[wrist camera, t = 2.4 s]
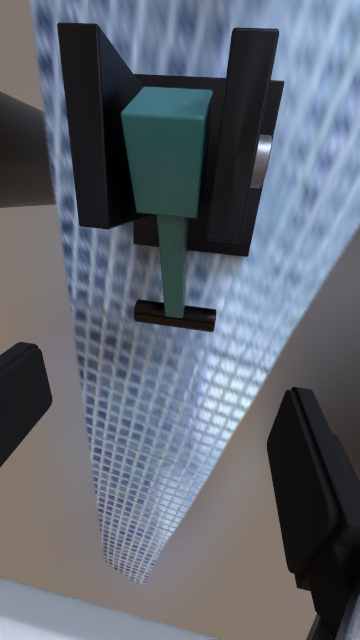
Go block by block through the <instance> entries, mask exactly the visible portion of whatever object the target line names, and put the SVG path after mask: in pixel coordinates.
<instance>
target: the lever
mask: <svg viewBox="0 0 360 640" xmlns="http://www.w3.org/2000/svg"><path fill="white" fill-rule="evenodd" d="M212 98H213V92H212V91H211V90H202V89H182V88H162V87H143V88H142V89H141V90H140V91H139V92H138V93H137V95H136V96H135V97H134V98H133V99H132V100H131V101H130V103H129V104H128V105H127V106H126V107H125V108H124V109H123V111H122V112H121V120H122V127H123V133H124V139H125V145H126V152H127V158H128V164H129V171H130V177H131V183H132V189H133V196H134V202H135V208H136V212H137V213H145V214H155V215H157V223H158V235H159V247H160V259H161V271H162V283H163V295H164V302H156V301H148V300H141V299H139V300H137V302H136V304H135V309H134V319H135V321H136V322H143V323H150V324H157V325H165V326H172V327H179V328H186V329H193V330H200V331H207V332H213V331H214V327H215V320H216V309H209V308H201V307H194V306H186V305H185V294H186V262H187V231H188V218H195V219H196V218H198V215H199V211H200V206H201V201H202V196H203V191H204V187H205V180H206V168H207V157H208V145H209V133H210V121H211V110H212Z"/></svg>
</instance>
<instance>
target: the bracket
mask: <svg viewBox="0 0 360 640" xmlns="http://www.w3.org/2000/svg"><path fill="white" fill-rule="evenodd" d="M57 27H58V36H59V45H60V55H61V64H62V73H63V82H64V91H65V100H66V109H67V118H68V127H69V136H70V145H71V154H72V164H73V173H74V182H75V191H76V200H77V209H78V218H79V225H80V226H83V227H92V228H101V229H110V228H114V227H117V226H120V225H123V224H126V223H129V222H133V227H134V244H138V245H147V246H156V247H159V235H158V223H157V215H155V214H145V213H137V212H136V208H135V202H134V196H133V189H132V183H131V177H130V171H129V164H128V158H127V152H126V145H125V139H124V133H123V127H122V120H121V112H122V111H123V109H124V108H125V107H126V106H127V105H128V104H129V103H130V101H131V100H132V99H133V98H134V97H135V96H136V95H137V93H138V92H139V91H140V90H141V89H142V88H143V87H162V88H182V89H202V90H211V91H212V92H213V98H212V110H211V121H210V133H209V145H208V157H207V168H206V180H205V187H204V191H203V196H202V201H201V206H200V211H199V215H198V218H196V219H195V218H188V231H187V250H192V251H201V252H210V253H219V254H228V255H237V256H246V257H247V256H248V254H249V249H250V244H251V239H252V235H253V230H254V225H255V220H256V216H257V211H258V206H259V201H260V196H261V192H262V187H263V182H264V178H265V175H266V171H267V167H268V163H269V158H270V153H271V146H272V139H273V134H274V130H275V125H276V120H277V115H278V110H279V106H280V101H281V96H282V91H283V87H284V81H275V80H271V75H272V70H273V64H274V59H275V54H276V48H277V43H278V38H279V30H278V29H263V28H234V29H233V31H232V36H231V44H230V52H229V60H228V68H227V76H226V78H209V77H188V76H166V75H144V74H133V73H132V72H131V70H130V69H129V67H128V66H127V65H126V63H125V62H124V60H123V59H122V58H121V56H120V55H119V53H118V52H117V51H116V49H115V48H114V46H113V45H112V44H111V42H110V41H109V40H108V38H107V37H106V35H105V34H104V33H103V31H102V30H101V28H100V27H99V26H98V25H97V24H83V23H58V24H57Z"/></svg>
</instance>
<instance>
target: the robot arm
mask: <svg viewBox="0 0 360 640" xmlns="http://www.w3.org/2000/svg"><path fill="white" fill-rule="evenodd" d="M51 403H52V395H51V391H50V386H49V382H48V377H47V373H46V369H45V364H44V360H43V356H42V352H41V350H40V349H39V348H38V346H37V345H36V344H31V343H25V342H19V343H17V344H15V345H14V346H13V347H11V348H10V349H8V350H7V351H6V352H4V353H3V354H1V355H0V467H1V466H2V465H3V463H4V462H5V461H6V460H7V458H8V457H9V456H10V455H11V454H12V452H13V451H14V450H15V449H16V448H17V446H18V445H19V444H20V443H21V442H22V440H23V439H24V438H25V436H26V435H27V434H28V433H29V432H30V431H31V429H32V428H33V427H34V426H35V424H36V423H37V422H38V421H39V420H40V419H41V417H42V416H43V415H44V414H45V412H46V411H47V410H48V409H49V407H50V406H51ZM267 452H268V457H269V463H270V469H271V475H272V481H273V487H274V492H275V498H276V504H277V510H278V516H279V521H280V527H281V533H282V539H283V544H284V551H285V557H286V562H287V566H288V569H289V571H290V572H291V573H294V574H295V579H296V585H297V588H299V589H304V590H308V591H311V594H312V599H313V603H314V607H315V611H316V612H317V615H316V618H315V620H314V622H313V625H312V627H311V630H310V632H309V634H308V637H307V639H306V640H360V481H359V479H358V478H357V475H356V473H355V471H354V469H353V467H352V465H351V463H350V461H349V458H348V456H347V454H346V452H345V450H344V448H343V446H342V444H341V442H340V440H339V438H338V437H337V436H336V435H335V434H332V432H331V430H330V428H329V426H328V423H327V421H326V419H325V417H324V415H323V412H322V411H321V408H320V406H319V404H318V401H317V399H316V397H315V395H314V393H313V391H312V390H310V389H304V388H298V387H293V388H292V389H291V390H287V391H286V392H285V394H284V397H283V400H282V403H281V405H280V408H279V410H278V413H277V416H276V418H275V421H274V424H273V427H272V429H271V432H270V434H269V437H268V441H267ZM0 640H220V639H216V638H213V637H209V636H206V635H202V634H199V633H195V632H192V631H188V630H185V629H181V628H178V627H174V626H171V625H167V624H164V623H160V622H157V621H153V620H150V619H146V618H143V617H139V616H136V615H132V614H128V613H125V612H122V611H118V610H115V609H111V608H108V607H104V606H101V605H97V604H94V603H90V602H87V601H83V600H79V599H76V598H72V597H69V596H65V595H61V594H58V593H54V592H51V591H47V590H44V589H40V588H37V587H33V586H29V585H26V584H22V583H18V582H15V581H11V580H8V579H4V578H1V577H0Z"/></svg>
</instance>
